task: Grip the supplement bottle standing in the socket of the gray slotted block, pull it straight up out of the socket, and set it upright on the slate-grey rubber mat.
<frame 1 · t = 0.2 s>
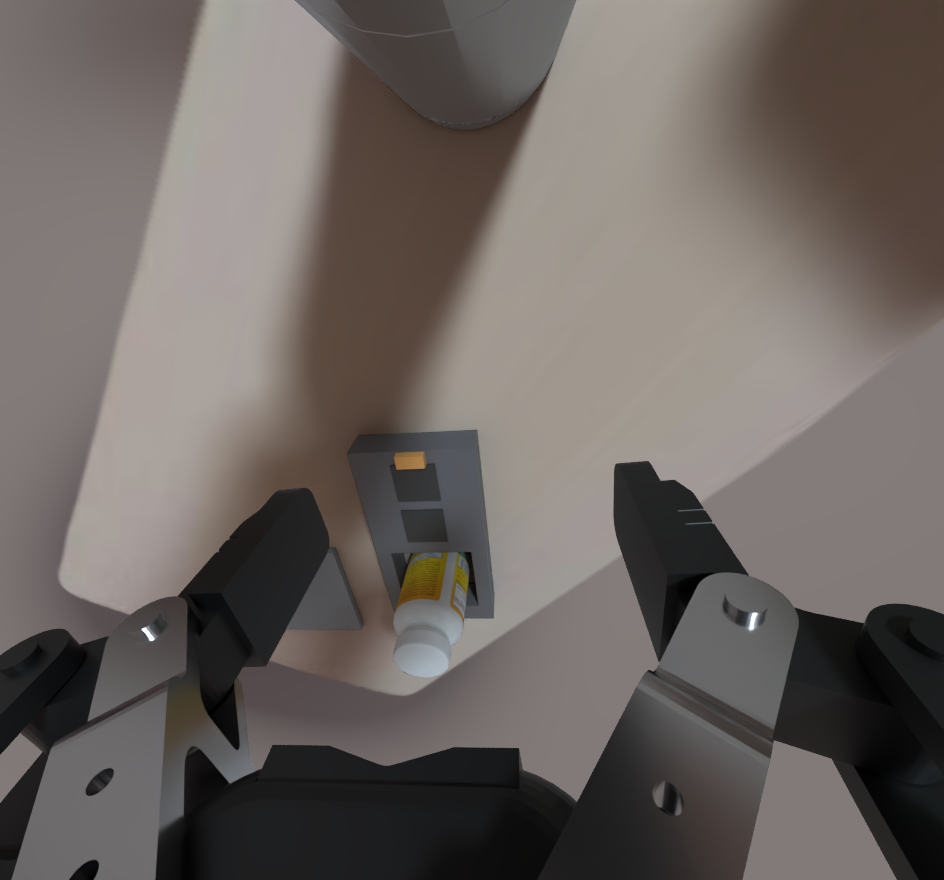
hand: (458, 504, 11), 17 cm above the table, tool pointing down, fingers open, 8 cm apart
gray slotted block: (434, 524, 35), on the table
charging mat: (296, 589, 40), on the table
supplement bottle: (440, 556, 37), resting in gray slotted block
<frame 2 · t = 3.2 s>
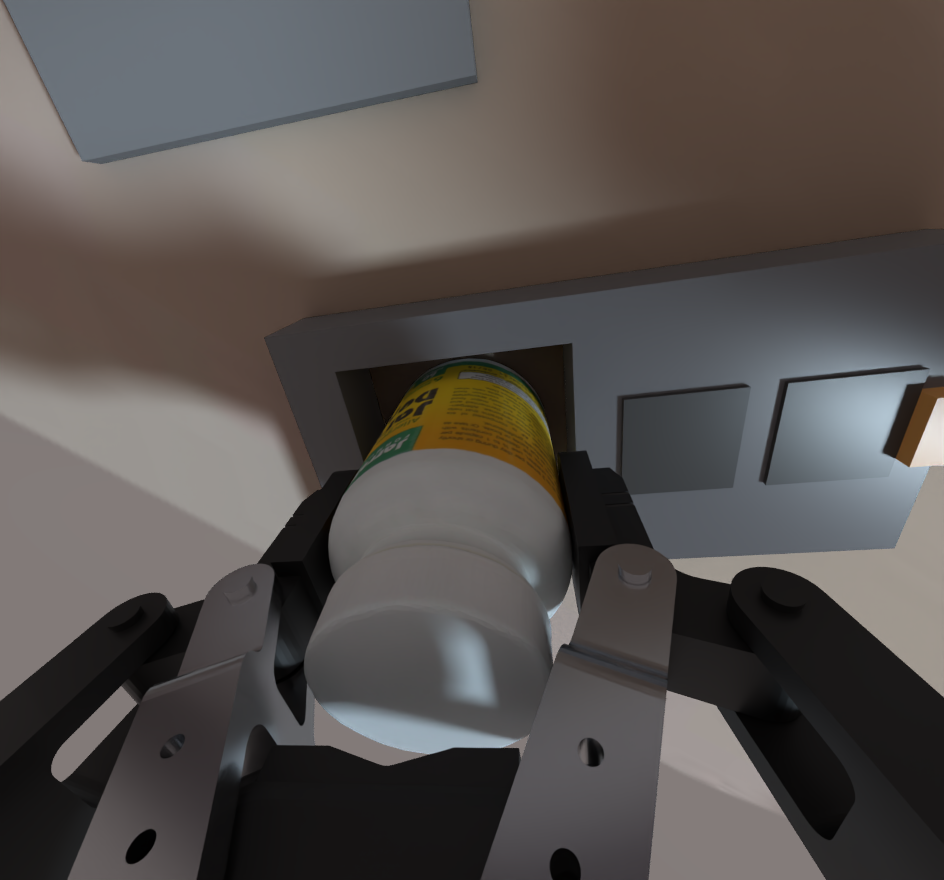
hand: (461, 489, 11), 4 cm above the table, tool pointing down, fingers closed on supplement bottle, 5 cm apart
gray slotted block: (586, 414, 14), on the table
supplement bottle: (473, 423, 15), resting in gray slotted block, touching gripper
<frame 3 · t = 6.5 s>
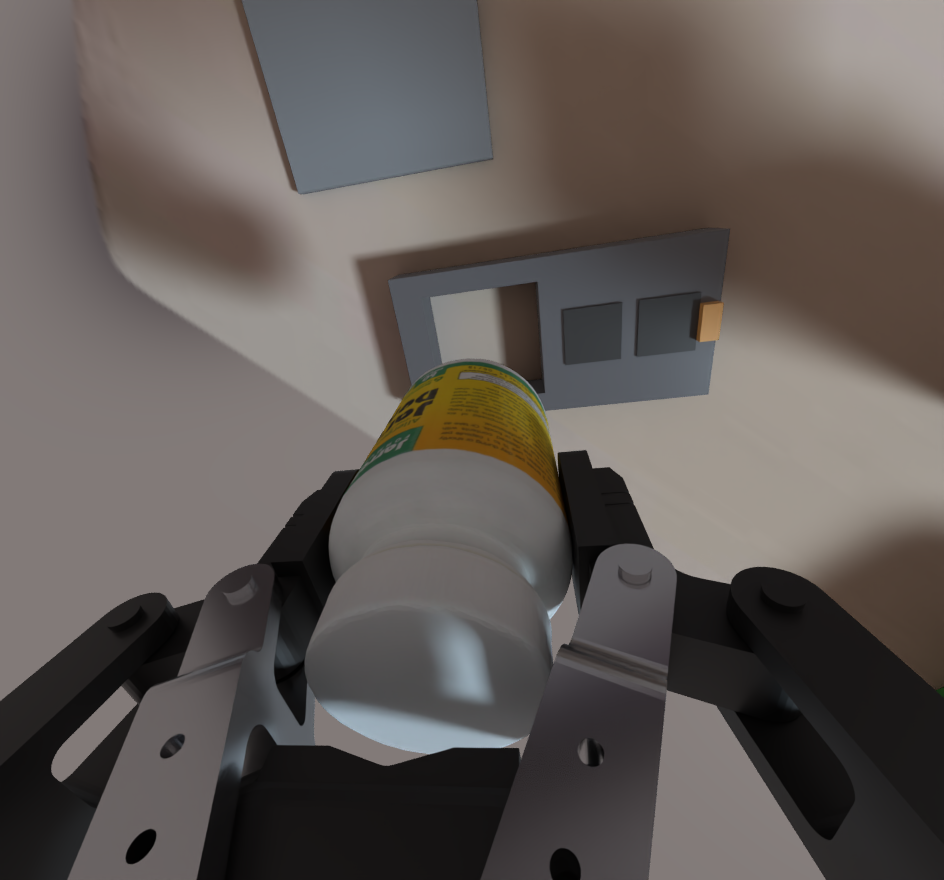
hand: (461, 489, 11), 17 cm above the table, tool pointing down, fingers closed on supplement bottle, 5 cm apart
gray slotted block: (549, 329, 26), on the table
charging mat: (369, 47, 20), on the table
supplement bottle: (474, 423, 15), point 13 cm above the table, touching gripper
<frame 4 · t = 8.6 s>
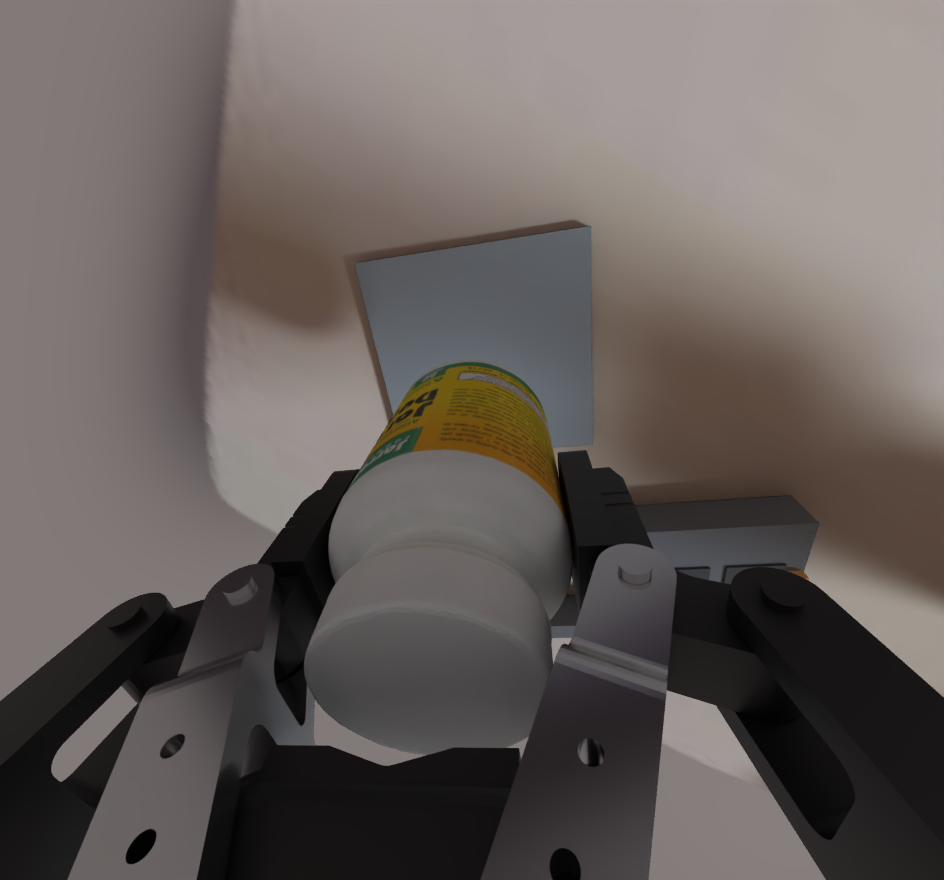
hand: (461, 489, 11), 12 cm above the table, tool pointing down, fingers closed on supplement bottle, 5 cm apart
gray slotted block: (630, 559, 28), on the table
charging mat: (484, 357, 22), on the table
supplement bottle: (473, 423, 15), point 8 cm above the table, touching gripper
when the fingers open (6 cm above the table, at t = 10.1 s): supplement bottle drops 1 cm, resting on charging mat.
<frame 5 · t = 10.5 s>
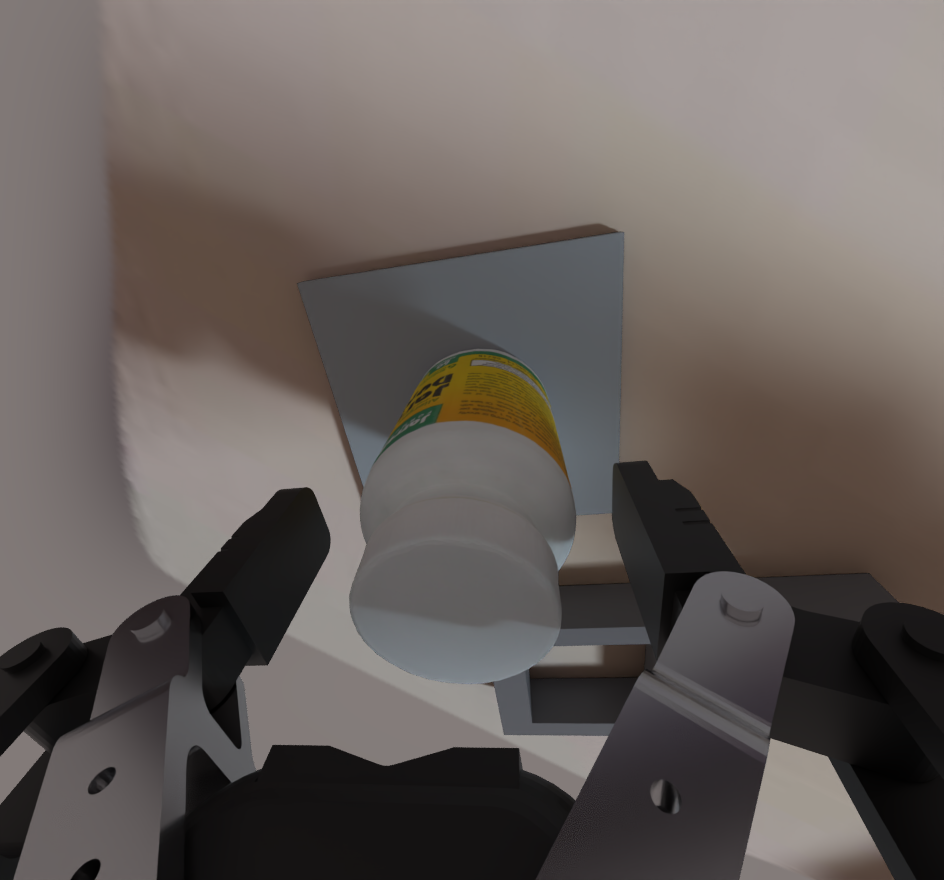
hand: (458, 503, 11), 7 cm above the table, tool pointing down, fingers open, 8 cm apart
gray slotted block: (659, 640, 22), on the table
charging mat: (476, 404, 17), on the table
supplement bottle: (482, 409, 16), resting on charging mat
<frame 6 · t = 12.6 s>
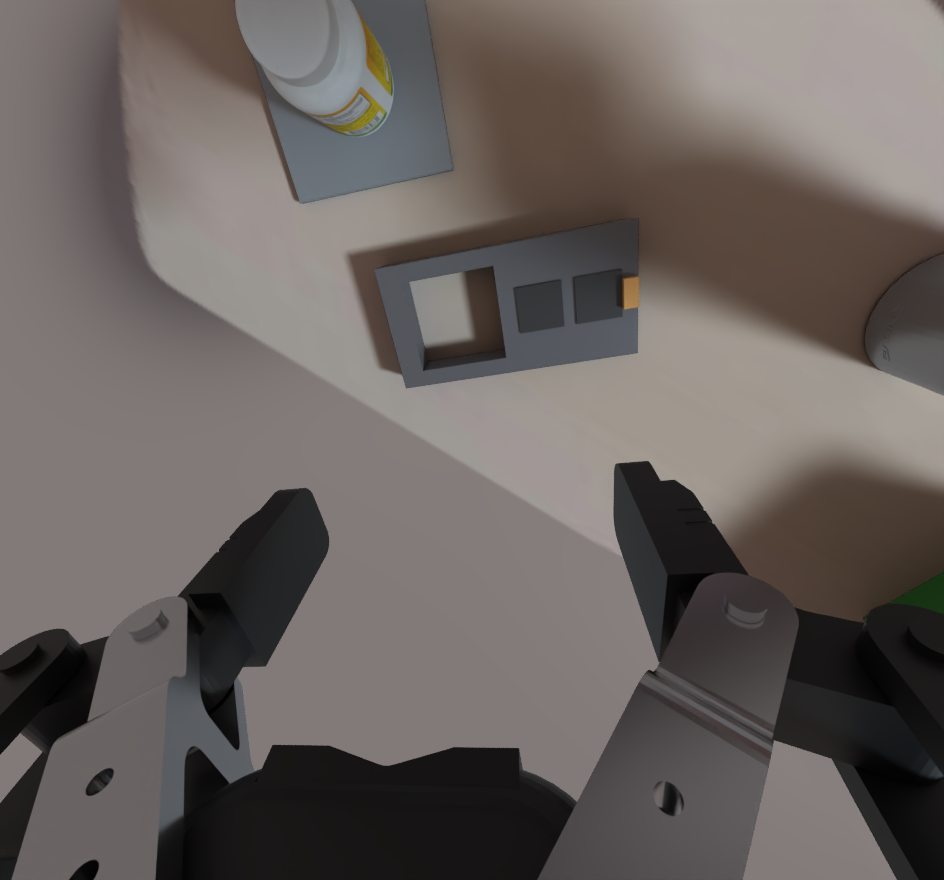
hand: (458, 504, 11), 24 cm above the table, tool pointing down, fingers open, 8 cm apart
gray slotted block: (508, 306, 32), on the table
charging mat: (352, 87, 26), on the table
supplement bottle: (354, 86, 26), resting on charging mat
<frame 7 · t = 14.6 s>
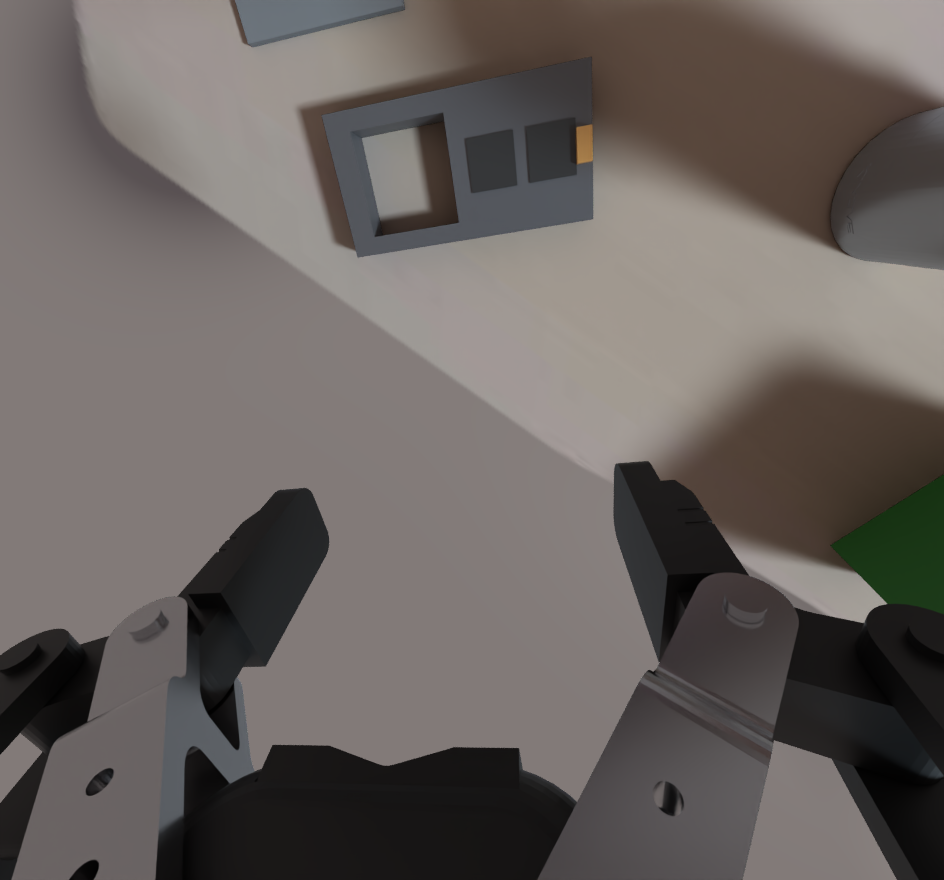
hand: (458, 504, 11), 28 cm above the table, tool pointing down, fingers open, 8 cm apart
green box: (933, 510, 42), on the table
gray slotted block: (464, 172, 31), on the table
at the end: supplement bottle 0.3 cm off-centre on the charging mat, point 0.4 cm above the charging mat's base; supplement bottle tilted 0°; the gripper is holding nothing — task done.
